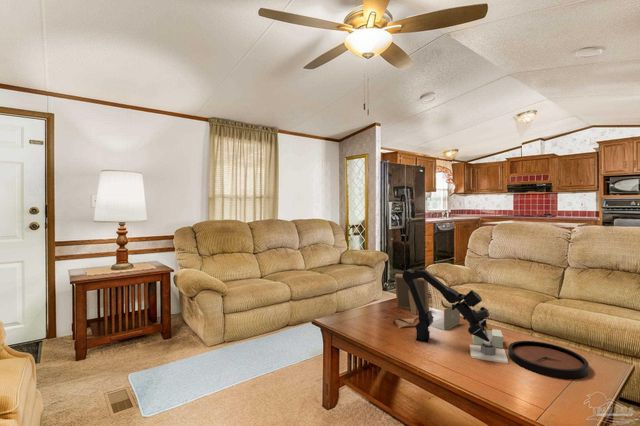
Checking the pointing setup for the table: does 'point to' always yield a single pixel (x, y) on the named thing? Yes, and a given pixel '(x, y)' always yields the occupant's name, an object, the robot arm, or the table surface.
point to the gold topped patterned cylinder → (489, 334)
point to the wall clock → (548, 359)
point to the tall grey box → (405, 293)
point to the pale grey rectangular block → (447, 319)
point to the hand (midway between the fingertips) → (490, 338)
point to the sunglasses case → (406, 322)
